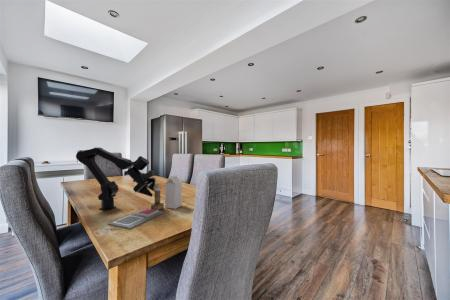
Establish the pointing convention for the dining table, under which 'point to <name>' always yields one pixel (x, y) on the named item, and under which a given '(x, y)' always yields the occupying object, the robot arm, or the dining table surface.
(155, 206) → the walnut stamp
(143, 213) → the stamping board
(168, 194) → the milk carton
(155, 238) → the dining table surface
